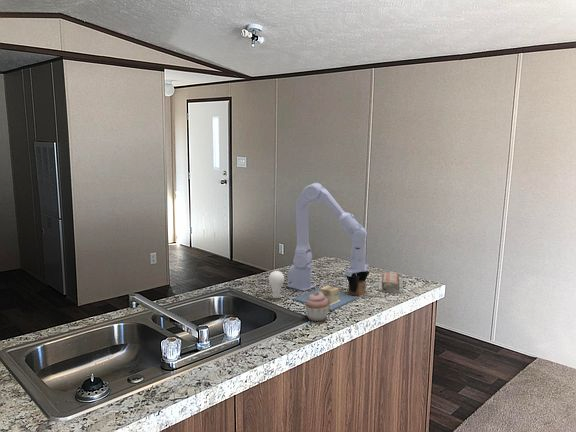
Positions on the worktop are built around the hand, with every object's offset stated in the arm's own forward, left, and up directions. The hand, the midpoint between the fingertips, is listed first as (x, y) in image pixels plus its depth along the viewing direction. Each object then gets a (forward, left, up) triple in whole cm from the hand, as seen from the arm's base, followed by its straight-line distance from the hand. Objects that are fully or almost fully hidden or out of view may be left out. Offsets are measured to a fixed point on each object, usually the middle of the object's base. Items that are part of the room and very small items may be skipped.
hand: (356, 289), depth 194 cm
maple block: (-2, -17, -1) cm, 17 cm away
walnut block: (0, 0, -1) cm, 1 cm away
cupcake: (+4, -33, -2) cm, 33 cm away
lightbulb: (-20, -27, -2) cm, 34 cm away
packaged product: (+6, +18, -2) cm, 19 cm away
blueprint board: (-5, -15, -1) cm, 16 cm away
